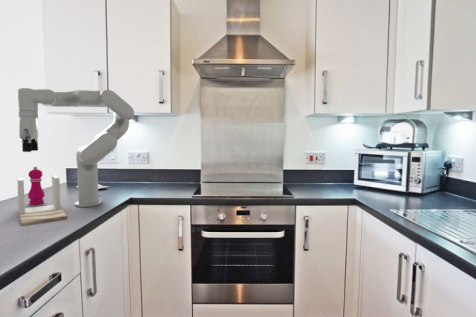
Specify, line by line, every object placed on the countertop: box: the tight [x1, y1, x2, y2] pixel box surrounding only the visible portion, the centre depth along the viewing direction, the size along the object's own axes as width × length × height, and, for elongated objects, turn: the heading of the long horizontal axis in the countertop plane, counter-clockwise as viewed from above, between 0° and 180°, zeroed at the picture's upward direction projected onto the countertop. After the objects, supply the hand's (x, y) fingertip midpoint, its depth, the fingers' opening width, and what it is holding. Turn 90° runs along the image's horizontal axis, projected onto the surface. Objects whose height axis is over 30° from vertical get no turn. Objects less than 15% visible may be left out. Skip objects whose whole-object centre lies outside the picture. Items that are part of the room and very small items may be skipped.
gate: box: [16, 174, 61, 216], centre depth 136 cm, size 10×16×16 cm, turn 130°
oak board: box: [19, 208, 68, 226], centre depth 125 cm, size 16×16×1 cm
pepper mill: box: [27, 166, 45, 206], centre depth 148 cm, size 7×7×20 cm
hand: (30, 151), depth 132 cm, fingers open, 9 cm apart
